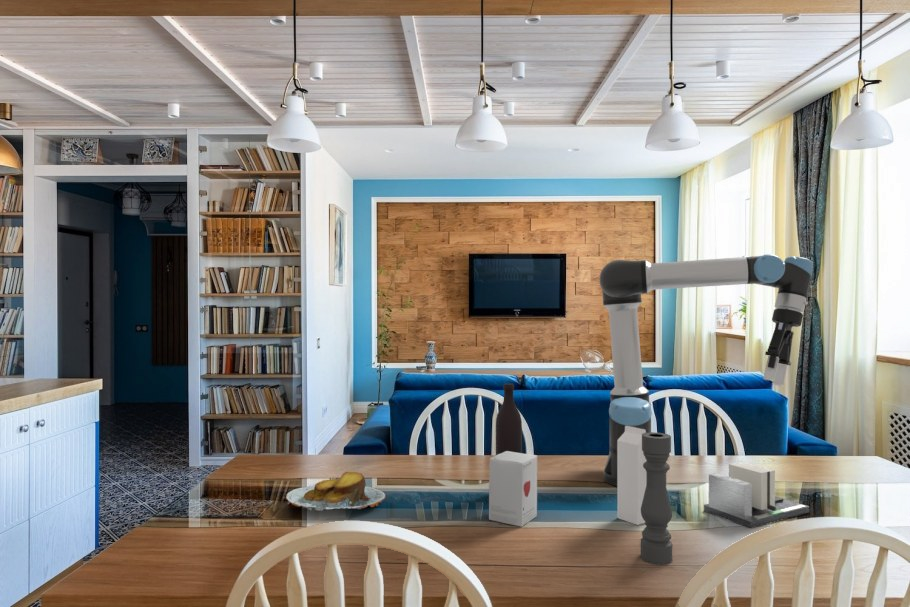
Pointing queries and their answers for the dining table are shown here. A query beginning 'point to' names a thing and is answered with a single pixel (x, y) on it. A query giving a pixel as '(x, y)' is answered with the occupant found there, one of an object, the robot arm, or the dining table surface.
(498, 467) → the supplement box
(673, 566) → the dining table surface
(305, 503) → the food on plate
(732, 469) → the block
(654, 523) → the candle holder
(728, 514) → the frame
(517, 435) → the wine bottle
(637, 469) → the milk
